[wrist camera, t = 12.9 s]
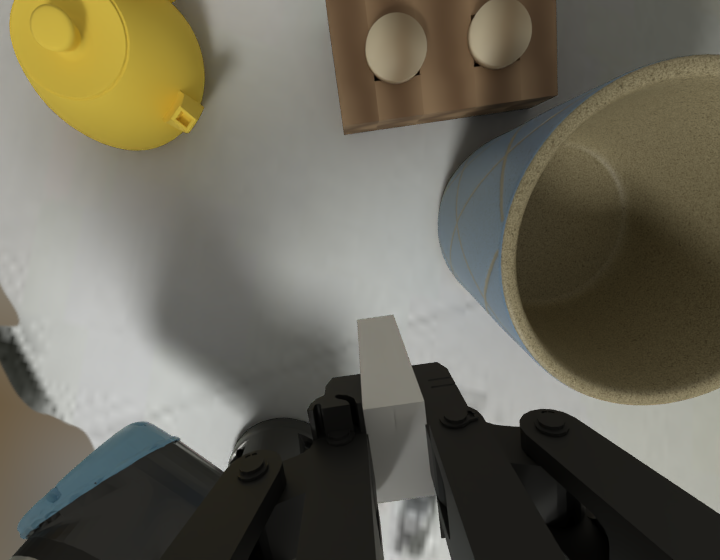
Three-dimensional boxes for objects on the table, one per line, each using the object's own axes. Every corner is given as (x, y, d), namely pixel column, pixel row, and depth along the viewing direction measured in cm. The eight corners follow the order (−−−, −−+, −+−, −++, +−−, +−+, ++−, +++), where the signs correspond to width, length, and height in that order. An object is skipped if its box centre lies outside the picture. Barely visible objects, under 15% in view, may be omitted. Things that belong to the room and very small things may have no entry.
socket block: (344, 134, 44) (343, 125, 38) (328, 20, 41) (324, -8, 36) (530, 107, 44) (557, 95, 38) (526, -9, 41) (555, -42, 35)
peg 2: (452, 89, 43) (473, 69, 36) (448, 33, 42) (468, 1, 35) (503, 82, 43) (532, 61, 36) (500, 26, 42) (530, -8, 35)
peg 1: (366, 102, 43) (370, 84, 36) (359, 46, 42) (361, 17, 35) (416, 95, 43) (429, 76, 36) (411, 39, 42) (423, 8, 35)
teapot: (35, 91, 42) (-95, 49, 30) (116, -67, 39) (9, -187, 27) (190, 199, 45) (131, 201, 33) (277, 61, 42) (247, 6, 30)
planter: (605, 108, 44) (877, 18, 21) (610, 291, 50) (833, 376, 27) (415, 143, 45) (483, 91, 22) (439, 321, 50) (515, 431, 27)
